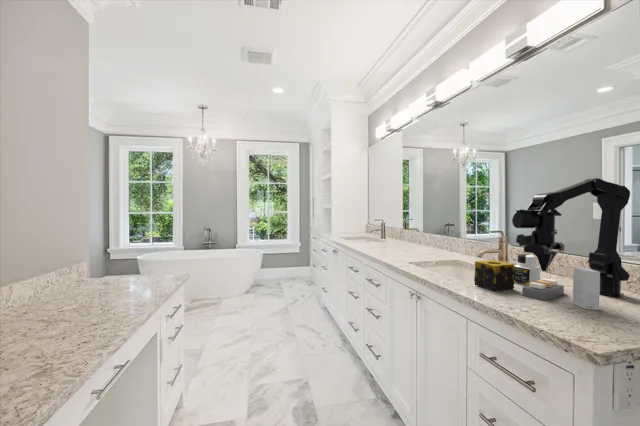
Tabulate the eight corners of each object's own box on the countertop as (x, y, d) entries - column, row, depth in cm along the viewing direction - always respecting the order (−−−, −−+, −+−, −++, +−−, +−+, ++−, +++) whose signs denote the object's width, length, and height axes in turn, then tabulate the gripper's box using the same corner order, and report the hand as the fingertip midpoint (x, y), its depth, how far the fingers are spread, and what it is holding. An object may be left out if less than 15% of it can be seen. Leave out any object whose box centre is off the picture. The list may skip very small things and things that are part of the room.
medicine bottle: (511, 282, 127) (512, 254, 127) (522, 280, 130) (523, 253, 130) (529, 286, 120) (529, 256, 120) (540, 284, 123) (540, 255, 123)
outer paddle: (532, 285, 108) (532, 281, 108) (545, 288, 105) (545, 284, 105) (529, 286, 107) (529, 282, 107) (542, 289, 104) (542, 285, 104)
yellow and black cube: (492, 283, 125) (492, 259, 125) (515, 289, 115) (515, 264, 115) (473, 285, 122) (473, 260, 122) (494, 291, 112) (495, 265, 112)
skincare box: (599, 310, 92) (600, 271, 92) (584, 309, 93) (584, 271, 93) (586, 304, 98) (587, 268, 98) (571, 303, 99) (572, 267, 99)
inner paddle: (544, 282, 114) (544, 278, 114) (557, 284, 110) (557, 280, 110) (541, 283, 112) (541, 279, 112) (554, 285, 109) (554, 281, 109)
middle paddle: (538, 283, 111) (538, 280, 111) (551, 286, 108) (551, 282, 108) (535, 284, 110) (535, 281, 110) (548, 287, 106) (548, 283, 106)
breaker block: (541, 289, 116) (541, 281, 116) (563, 293, 110) (563, 285, 110) (522, 295, 107) (522, 287, 107) (545, 300, 101) (545, 292, 101)
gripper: (531, 226, 120) (530, 264, 120) (508, 227, 110) (507, 270, 110) (565, 227, 111) (564, 269, 111) (543, 229, 101) (542, 275, 101)
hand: (543, 271), depth 109 cm, fingers closed
